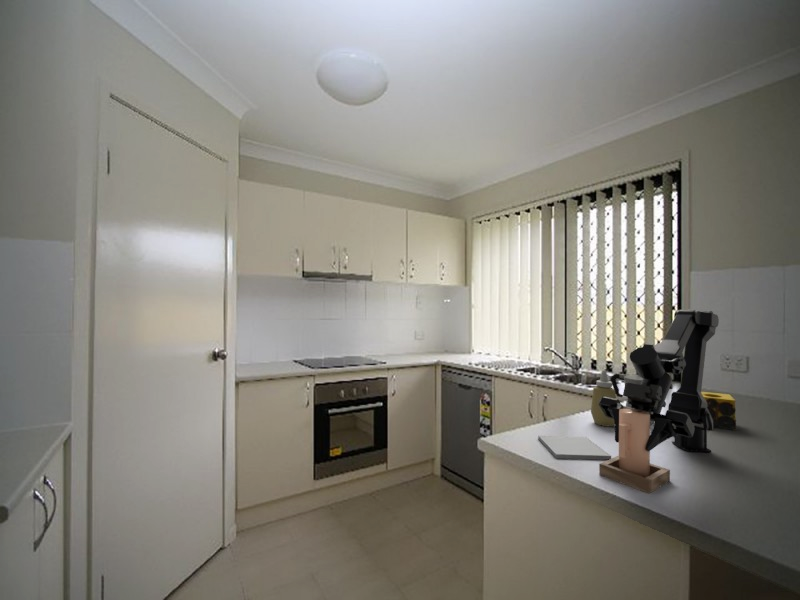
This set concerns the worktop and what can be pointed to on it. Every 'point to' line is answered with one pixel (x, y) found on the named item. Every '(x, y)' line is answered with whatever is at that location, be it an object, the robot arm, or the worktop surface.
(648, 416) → the tan piece
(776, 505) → the worktop surface
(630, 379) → the coffeepot
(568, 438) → the pad
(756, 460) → the worktop surface
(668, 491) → the worktop surface
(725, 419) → the yellow spotted cube
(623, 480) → the collar
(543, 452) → the worktop surface
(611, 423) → the squeeze bottle
